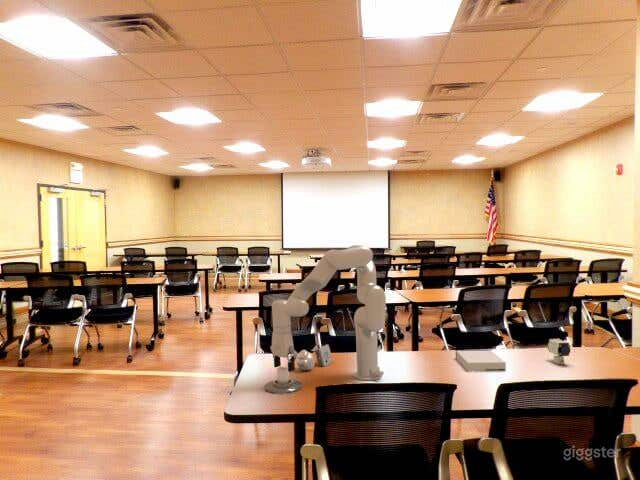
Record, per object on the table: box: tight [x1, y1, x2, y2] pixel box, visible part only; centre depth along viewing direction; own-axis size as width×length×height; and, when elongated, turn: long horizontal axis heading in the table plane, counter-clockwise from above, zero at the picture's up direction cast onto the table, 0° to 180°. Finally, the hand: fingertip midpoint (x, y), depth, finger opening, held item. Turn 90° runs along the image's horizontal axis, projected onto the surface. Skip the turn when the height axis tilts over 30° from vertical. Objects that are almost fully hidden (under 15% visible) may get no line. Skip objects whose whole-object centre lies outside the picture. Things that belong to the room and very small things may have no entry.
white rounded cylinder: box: [276, 366, 290, 384], centre depth 203 cm, size 5×5×8 cm
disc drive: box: [455, 349, 507, 373], centre depth 230 cm, size 18×22×5 cm
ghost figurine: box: [296, 349, 316, 371], centre depth 227 cm, size 9×10×10 cm
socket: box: [263, 378, 303, 394], centre depth 203 cm, size 16×16×2 cm
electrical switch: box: [314, 344, 334, 368], centre depth 237 cm, size 9×5×9 cm, turn 152°
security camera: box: [547, 337, 571, 365], centre depth 228 cm, size 6×12×12 cm, turn 6°
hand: (284, 368), depth 203 cm, fingers open, 9 cm apart
